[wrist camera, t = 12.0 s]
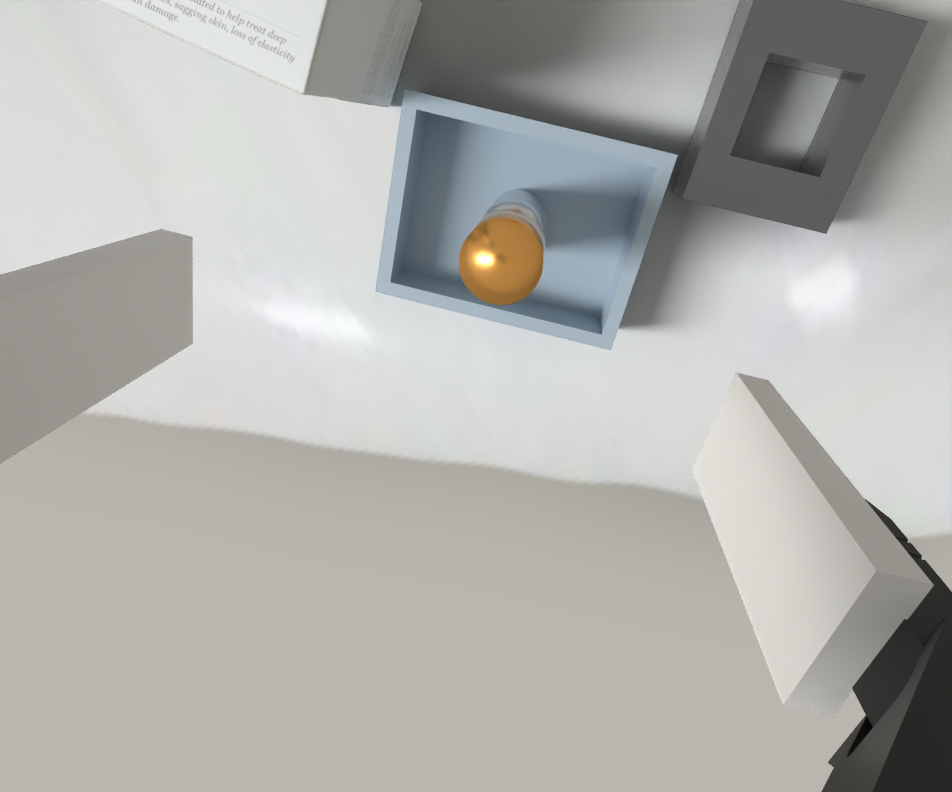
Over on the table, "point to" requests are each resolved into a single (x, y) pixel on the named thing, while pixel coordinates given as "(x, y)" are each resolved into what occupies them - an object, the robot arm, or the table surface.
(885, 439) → the table surface
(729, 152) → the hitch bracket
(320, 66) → the skincare box
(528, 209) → the copper top battery
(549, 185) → the tray
